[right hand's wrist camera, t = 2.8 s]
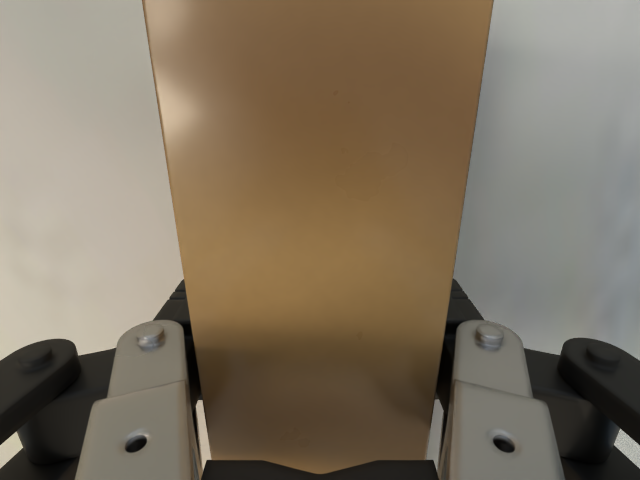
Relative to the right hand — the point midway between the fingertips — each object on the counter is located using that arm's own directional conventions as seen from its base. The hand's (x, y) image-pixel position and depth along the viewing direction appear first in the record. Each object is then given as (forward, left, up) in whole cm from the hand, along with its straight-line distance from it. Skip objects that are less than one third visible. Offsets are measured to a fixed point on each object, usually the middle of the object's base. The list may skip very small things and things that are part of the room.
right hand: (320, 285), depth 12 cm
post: (+3, -27, -3) cm, 27 cm away
